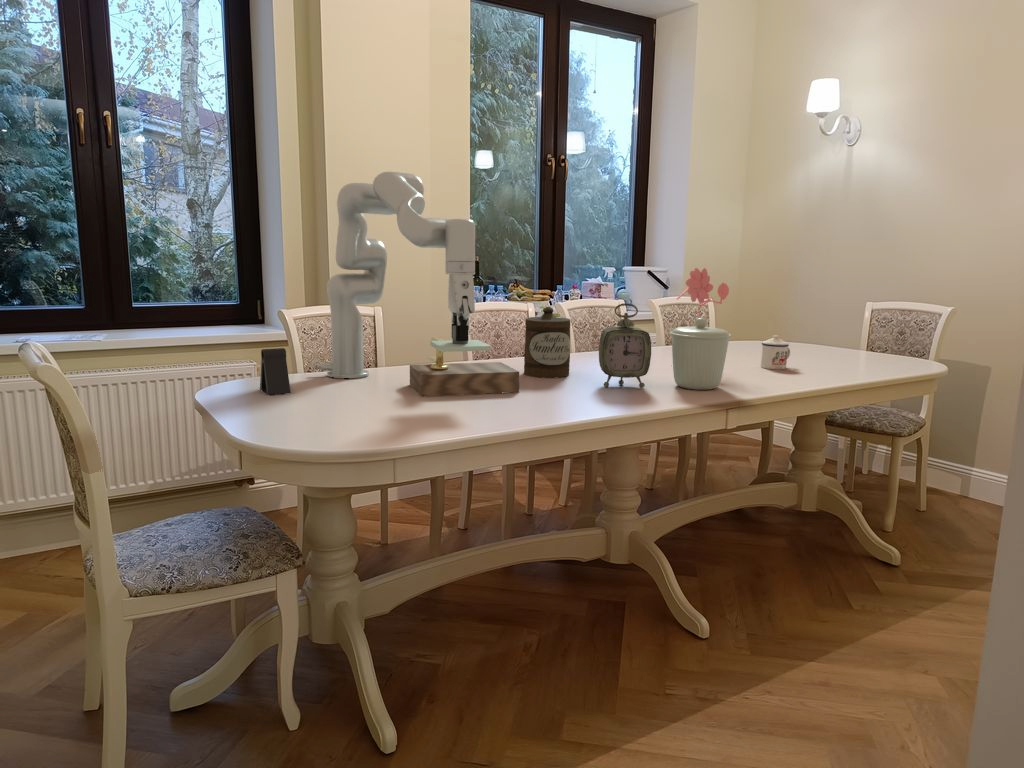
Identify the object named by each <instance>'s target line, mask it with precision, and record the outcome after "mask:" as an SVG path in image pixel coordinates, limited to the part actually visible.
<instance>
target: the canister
mask: <svg viewBox="0 0 1024 768" xmlns="http://www.w3.org/2000/svg"><path fill="white" fill-rule="evenodd" d="M707 324H708V320H707V319H706V318H705V317H701V318H700V317H698V318H696V319H695V321H694V325H695V326H679V327H675V328H674V329H672V330H670V331H669V335H671V352H672V353H671V356H672V366H673V367H672V370H673V379H674V382H675V384H676V385H677V386H678V387H680V388H683V389H686V390H697V391H698V390H699V391H700V390H701V391H706V390H714V389H716V388H718V387H719V386H720V384H721V381H722V378H723V377H722V376H723V373H724V369H725V368H724V367H725V363H726V358H727V352H728V346H729V340H730V338H732V334H731V333H729V331H727V330H726V329H722V328H718V327H710V326H707ZM705 326H706V327H705Z"/></svg>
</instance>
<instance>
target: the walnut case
mask: <svg viewBox="0 0 1024 768" xmlns="http://www.w3.org/2000/svg"><path fill="white" fill-rule="evenodd" d="M431 365H436V363H427V364H426V363H425V364H424V363H423V364H419V363H417V364H409V386H410V387H411V388H412V389H414V391H415V392H417V393H418V395H420V397H421V398H422V397H424V396H426V397H443V396H442V395H450V396H463V395H462V394H474V395H486V394H485V393H497V394H503V393H502V392H519V393H520V371H519V370H516V369H515V368H513V367H511V366H509V365H507V364H505V363H503V362H501V361H493V362H457V363H443V365H448V366H449V369H447V370H433V369H431ZM440 395H441V396H440Z"/></svg>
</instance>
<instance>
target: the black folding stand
mask: <svg viewBox="0 0 1024 768" xmlns="http://www.w3.org/2000/svg"><path fill="white" fill-rule="evenodd" d="M260 350H261V351H260V353H261V354H260V356H261V357H260V358H261V365H260V379H259V380H260V383H259V390H260V391H261V390H262V391H263V392H262V391H261V392H262V393H264V394H265V393H266V394H265V395H267V396H268V395H270V396H276V395H275V394H281V395H286V394H285V393H291V385H290V384H291V383H290V379H289V378H290V376H289V371H288V362H287V350H286V348H285V347H282V348H281V347H280V348H279V347H278V348H263V349H260Z"/></svg>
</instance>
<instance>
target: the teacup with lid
mask: <svg viewBox="0 0 1024 768" xmlns="http://www.w3.org/2000/svg"><path fill="white" fill-rule="evenodd" d="M761 345H762V347H761V358H760V359H761V360H760V367H761V368H762V369H767V370H778V371H779V370H785V369H786V368H787V360H788V359H789V358H790V356H791V349H790V348H789V345H790V344H789V342H787V341H784V340H783V339H781V338H780V336H779V335H778V334H777V335H776V334H773V335H772V338H769V339H767V340H764V341H762V343H761Z"/></svg>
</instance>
